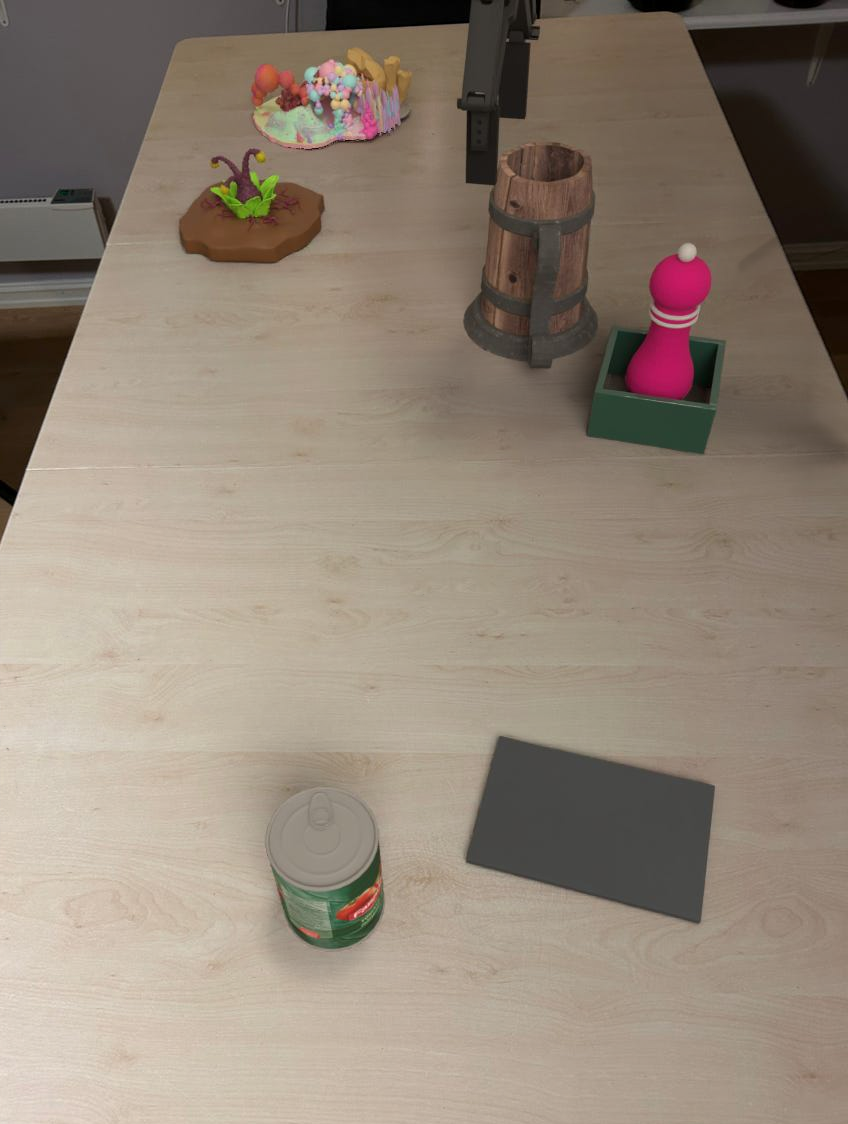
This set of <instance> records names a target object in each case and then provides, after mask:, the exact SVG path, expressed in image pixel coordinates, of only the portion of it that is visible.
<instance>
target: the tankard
mask: <svg viewBox="0 0 848 1124" xmlns="http://www.w3.org/2000/svg"><path fill="white" fill-rule="evenodd" d="M593 184H594V183H593V161H592V157H591V155H590V154H589V153H588V152H587V151H584V150H582V149H579V148H576V147H572V146H571V145H569V144H566V143H562V142H556V141H535V142H527V143H524V144H521V145H518V146H516V147H514V148H512V149H510V150H508V151H506V152H504V153H502V154H501V155H500V157H499V160H498V165H497V182H496V185H495V186H494V185H493V186H492V188H491V190H490V192H489V197H488V198H489V199H488V211H487V212H488V215H489V220H488V230H487V241H486V251H485V252H486V253H485V263H484V265H483V267H482V270H481V280H480V289H481V291H480V292H479V293H478V295H476V297H475V299H473V300H472V302H471V303H470V304H469V305H468V306H467V308H466V310H465V312H464V315H463V326H464V330H465V332H466V334H467V336H468V337H469V338H470V339H471V340H472V341H473V343H475V344H476V345H477V346H479V347H480V348H481V349H483V350H485V351H486V352H489V353H492V354H493V355H496V356H500V357H503V358H506V359H512V360H517V361H528V368H529V369H532V370H535V369H539V370H541V369H543V370H544V369H550V368H552V365H553V360H555V359H559V358H563V357H566V356H568V355H572V354H574V353H577V352H578V351H580V350H581V349H583V348H584V347H586V346H587V345H588V344H590V343H591V341H593V339H594V337H595V336H596V335H597V331H598V329H599V318H598V315H597V312H596V311H595V309H594V308H593V306H592V305H591V303H590V301H589V299H588V298H587V296H586V294H587V292H588V286H589V270H588V259H589V248H590V237H591V226H592V219H593V217H594V214H595V208H596V207H595V205H596V193H595V191H594V188H593V187H594V185H593Z"/></svg>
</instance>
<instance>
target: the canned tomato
mask: <svg viewBox="0 0 848 1124" xmlns="http://www.w3.org/2000/svg"><path fill="white" fill-rule="evenodd" d="M264 841H265V843H264V845H265V851H266V856H267V858H268V861H269V864H270V868H271V871H272V875H273V878H274V883H275V886H276V889H277V892H278V895H279V899H280V902H281V905H282V910H283V912H284V918H285V921H286V923H287V925H288V927H289V928H290V930H291V931H292V934H293V935H294V936H296V938H297V939H299V941H300V942H302V943H304V944H305V945H307V946H308V947H310V948H313V949H316V950H319V951H325V952H340V951H345V950H350V949H352V948H354V947H356V946H359V945H360V944H362V943H363V942H364V941H366V940H367V939H368V938H370V936H372V934H373V933H375V931H376V929H377V928H378V926H379V924H380V922H381V920H382V918H383V915H384V911H385V904H386V900H385V891H384V879H383V869H382V868H383V867H382V866H383V865H382V857H381V856H382V855H381V846H380V845H381V844H380V829H379V825H378V821H377V819H376V816H375V815H374V813H373V810H372V808H371V807H370V806H369V805H368V803H367V802H366V801H364V800H363V799H362V798H361V797H360V796H359V795H357V794H355V793H354V792H351V791H349V790H347V789H344V788H341V787H336V786H328V785H327V786H325V785H323V786H314V787H310V788H307V789H303V790H301V791H298V792H296V793H294V794H293V795H291V796H290V797H288V798H286V799H285V800H284V801H283V802H282V803H281V804H280V805H279V806H278V807H277V809H275V811H274V813H273V814H272V815H271V818H270V820H269V822H268V823H267V827H266V831H265V840H264Z"/></svg>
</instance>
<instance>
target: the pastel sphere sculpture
mask: <svg viewBox="0 0 848 1124" xmlns="http://www.w3.org/2000/svg"><path fill="white" fill-rule="evenodd" d="M400 66H401V58H399V57H398V56H396V55H390V56H389V57H388V58H384V60H383V68H382V67H381V66H380V64H379V63H378V62H376V61H375V60H374V59H373V58H372V56H371V54H369V53H366V52H365V51H364V50H362V49H361V47H359V46H357V47H352V48H348V50H347V52H346V55H345V64H343V63H341V62H340V61H335V60H334V59H332V58H330V59H329V60H328V61H325V62H323V63H322V64H320V65H318V66H317V67H315V66H310V67H308V68H307V69H306V70H305V71H304V74H303V79H302V83H301V85H300V84H299V83H297V82H296V80H295V79H296V78H295V75H294V74H293V72H292V71H290V70H282V71H281V72H280V73H279V71H278V69H277V68H276V67H275V65H273V64H270V63H263V64H260V66H258V67H257V68H256V71H255V73H254V81H253V82H252V85H251V89H250V90H251V93H252V96H251V103H252V104H253V105H254V108H255V110H254V111H253V113H254V114H253V115H252V120H253V123H254V127H255V128H256V129H257V131H259V132H261V135H262V137H265V138H267V140H268V141H269V142H270V143H274V144H277V145H279V146H281V147H282V148H288V147H291V148H290V149H296V148H300V149H299V150H302V149H301V148H304V149H303V150H305V149H311V148H318V147H322V146H324V145H327V144H329V143H330V142H333V141H334V140H339V141H343V140H342V139H346V140H348V139H349V140H354V139H362V140H363V139H369V140H368V141H371V140H372V139H374V137H375V136H377V135H378V134H377V133H380V134H379V137H380V136H381V137H382V134H384V133H386V132H388V133H390V134H391V131H392V129H393V131H396V125H397V127H398V126H399V125H401V119H404V118H406V117H407V116H408V115H409V113H410V112H411V111H412V109H411V108H410V107H411V105H410V104H409V103H408V102H406V101H404V100H405V99H406V97H407V95H408V92H409V89H410V86H411V81H412V75H413V71H404V69H401V70H400ZM279 86H280V87H281V89H282V90H281V91H280V95H277V96H275V97H272V98H271V99H269V100H267V101H265V102H264V98H266V97H267V95H268V94H271V93H274V92H275V91H276V90H277V89H278V88H279ZM401 126H402V125H401ZM399 127H400V126H399ZM391 128H392V129H391ZM381 132H382V133H381ZM388 133H386V134H388ZM373 136H374V137H373ZM370 139H371V140H370ZM329 145H330V144H329Z"/></svg>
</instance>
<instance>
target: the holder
mask: <svg viewBox="0 0 848 1124" xmlns="http://www.w3.org/2000/svg"><path fill="white" fill-rule="evenodd" d="M609 332H610V333H609V336H608V340H607V344H606V348H605V351H604V355H603V359H602V362H601V366H600V370H599V373H598V377H597V381H596V385H595V389H594V393H593V398H592V406H591V411H590V418H589V423H588V424H589V425H588V429H587V437H593V438H599V439H604V440H611V441H617V442H618V441H619V442H623V443H631V444H637V445H643V446H644V445H645V446H648V447H649V446H650V447H655V448H662V449H668V450H674V451H681V452H689V453H694V454H700V455H704V454H705V452H706V447H707V443H708V441H709V438H710V433H711V430H712V426H713V423H714V419H715V417H716V413H717V410H718V409H717V408H718V403H719V402H718V401H719V396H720V395H719V394H720V387H721V381H722V373H723V368H724V367H723V366H724V360H725V352H726V346H727V340H725V339H719V338H712V337H711V338H710V337H703V336H697V335H696V336H695V335H689V350H690V355H691V359H692V362H693V369H694V376H693V383H692V387H702V388H705V394H704V399H703V400H704V401H703V402H698V401H689V400H684V399H683V400H677V399H670V398H663V397H656V396H649V395H643V394H636V393H629V392H627V391H621V390H615V389H614V390H613V389H608V386H609V381H610V377H611V375H614V376H615V375H616V376H621V377H625V375H626V372H627V368H628V365H629V363H630V361H631V359H632V357H633V356H634V354H635V353H636V351H637V350H638V349H639V347H640V346H641V345H642V343H643V342H644V340H645V339H646V337H647V335H648V332H649V329H641V328H634V327H628V326H627V327H625V326H620V325H612V326H611V329H610V331H609Z"/></svg>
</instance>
